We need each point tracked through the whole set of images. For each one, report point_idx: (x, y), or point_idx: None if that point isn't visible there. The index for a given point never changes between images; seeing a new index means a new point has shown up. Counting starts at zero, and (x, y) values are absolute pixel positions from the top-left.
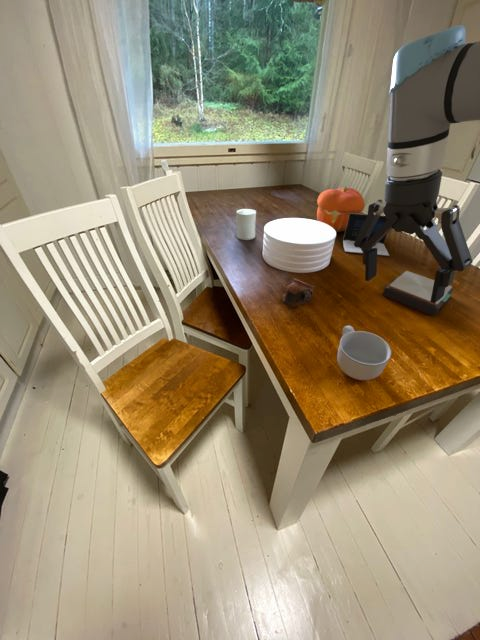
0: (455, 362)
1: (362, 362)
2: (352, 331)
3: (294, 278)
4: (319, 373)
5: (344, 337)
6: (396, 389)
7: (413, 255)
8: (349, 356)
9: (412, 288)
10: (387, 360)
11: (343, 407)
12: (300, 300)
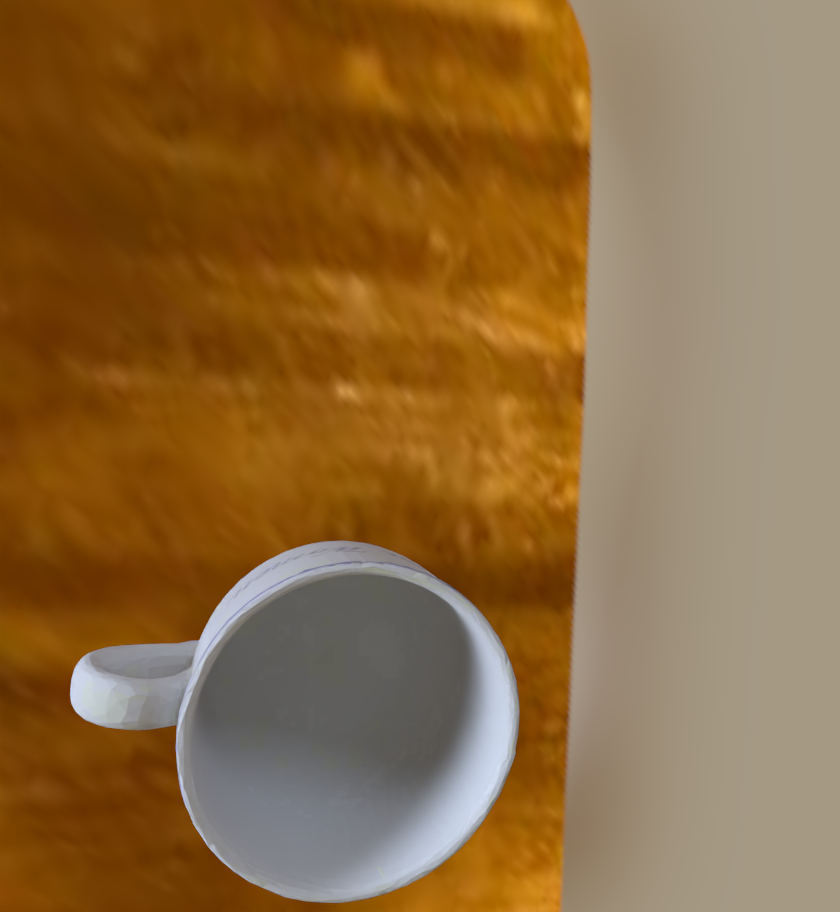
0: (496, 48)
1: (317, 619)
2: (167, 707)
3: None
4: None
5: (204, 807)
6: (518, 540)
7: None
8: (386, 885)
9: None
10: (513, 674)
11: (506, 873)
12: None
